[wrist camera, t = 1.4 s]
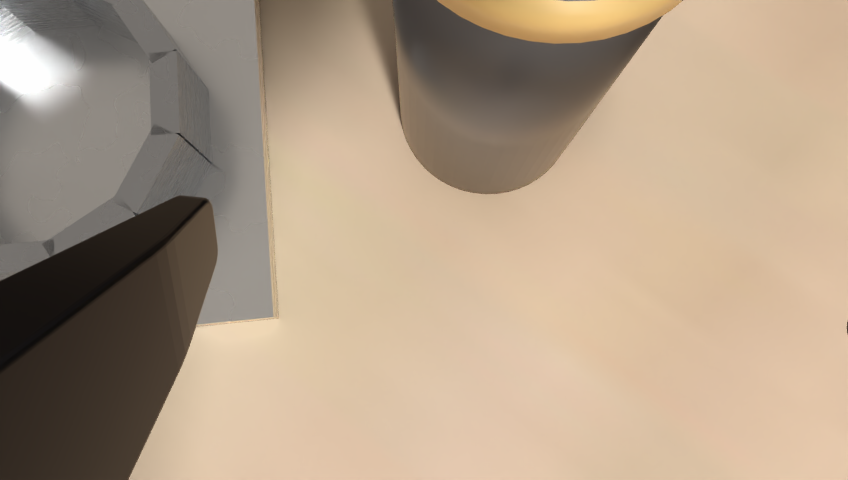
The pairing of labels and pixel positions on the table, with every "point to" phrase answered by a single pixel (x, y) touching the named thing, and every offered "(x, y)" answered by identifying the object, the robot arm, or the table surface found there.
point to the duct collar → (137, 132)
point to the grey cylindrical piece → (508, 80)
